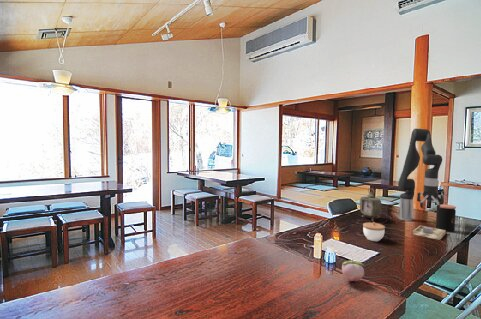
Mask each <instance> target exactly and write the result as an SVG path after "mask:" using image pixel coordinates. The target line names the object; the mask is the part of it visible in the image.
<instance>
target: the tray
mask: <svg viewBox="0 0 481 319" xmlns="http://www.w3.org/2000/svg"><path fill="white" fill-rule="evenodd" d="M424 227H427V226H424V225H419V226H417V227H416V228H415V229H413V230H412V235H415V236H421V237H425V238H428V239H434V240H438V241H440V240H441V239H442V238H443V237H444V236H445V235H446V233H447V232H446V230H441V229H436V227H432V228H433V235H432V234H427V233H423V228H424Z"/></svg>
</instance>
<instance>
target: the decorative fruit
mask: <svg viewBox="0 0 481 319" xmlns="http://www.w3.org/2000/svg"><path fill="white" fill-rule="evenodd" d="M363 266H364V267H365V264H363V263H362V262H360V261H358V260H357V261H355V260H354V259H352V260H346V261H344V262H342V263H341V272H342V275H343V277H344V278H345V279H347V280H348V281H350V282H351V281H355V282H357V281H359V280H361V279H362V278H363V277H364V276H365V270H364V268H363Z"/></svg>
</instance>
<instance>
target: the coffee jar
mask: <svg viewBox="0 0 481 319" xmlns="http://www.w3.org/2000/svg"><path fill="white" fill-rule="evenodd" d="M456 208H457V206H455V205H452V204H442V205H440V210H438V211H437V210H436V217H435V228H436V229H441V230H446V233H454V232H455V230H456V229H455V228H456V214H457V213H456V212H457V211H456Z"/></svg>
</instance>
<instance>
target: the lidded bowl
mask: <svg viewBox="0 0 481 319" xmlns="http://www.w3.org/2000/svg"><path fill="white" fill-rule="evenodd" d="M385 229H386V226H385V225H383V224H381V223H376V222H375V221H372V222H364V223H362V231H363V236H365V238H366V239H367V240H368V241H372V242H379V241H381V239H383V237H384V236H385Z"/></svg>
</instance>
